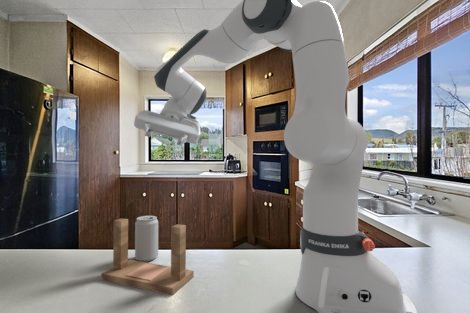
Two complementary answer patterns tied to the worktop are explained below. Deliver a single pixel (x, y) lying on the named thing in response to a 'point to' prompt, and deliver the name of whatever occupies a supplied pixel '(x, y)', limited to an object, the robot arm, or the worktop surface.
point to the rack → (148, 273)
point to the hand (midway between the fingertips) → (163, 138)
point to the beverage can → (146, 238)
